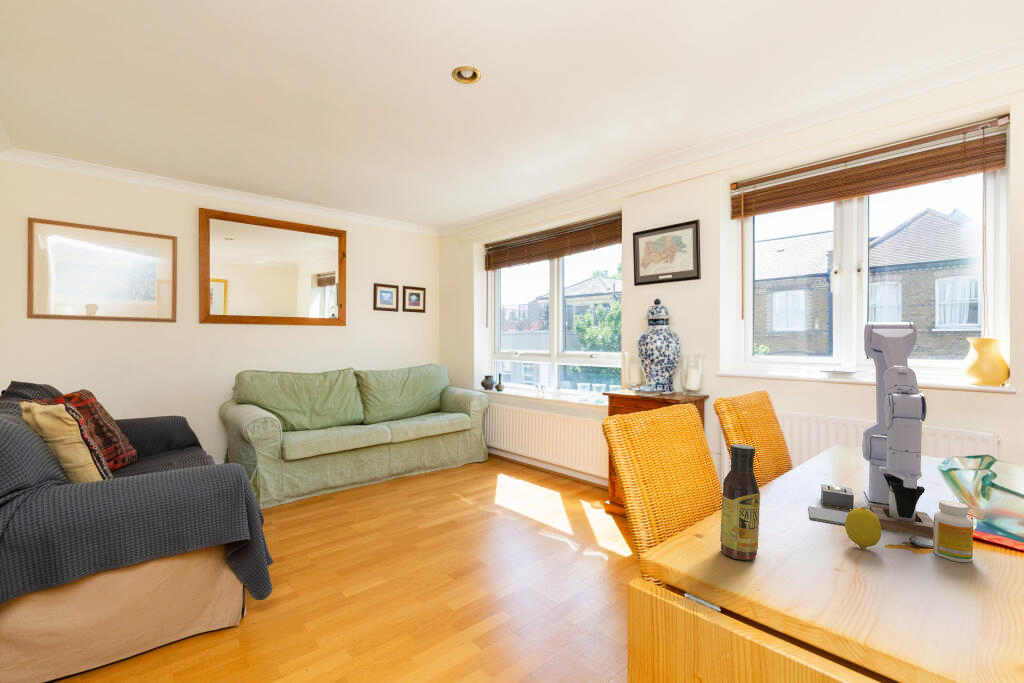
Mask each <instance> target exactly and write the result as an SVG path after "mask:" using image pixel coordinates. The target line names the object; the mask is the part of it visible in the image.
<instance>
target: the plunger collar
mask: <svg viewBox="0 0 1024 683" xmlns="http://www.w3.org/2000/svg"><path fill="white" fill-rule="evenodd" d="M820 485H821V487H820V488H821V490H820V491H821V492H820V493H821V494H820V500H821V499H822V500H821V504H823V505H825V506H824V507H829V506H832V507H831V508H835V507H839V508H838V509H842V508H845V509H844V510H848V509H851V510H853V509H855V508H854V505H855V504H854V498H855V497H854V496H855V494H854V492H853V490H852V488H851V487H843V486H841V487H842V488H844V489H845V493H844V492H837V491H830V486H832V485H830V484H820ZM823 505H822V506H823ZM851 510H850V511H851Z"/></svg>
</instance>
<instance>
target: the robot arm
mask: <svg viewBox="0 0 1024 683" xmlns="http://www.w3.org/2000/svg"><path fill="white" fill-rule="evenodd" d="M917 338H918V329H917V325H916V324H915V323H914V322H913V321H909V322H872V321H867V322H866V323H865V325H864V330H863V343H864V346H863V347H864V349H863V350H864V354H865V356H867V357H869V358H870V359H873V363H874V366H875V402H876V403H875V404H876V407H875V408H876V413H875V414H876V423H874V424H872V425H870V426H868V427H866V428H865V429H864V430H863V433H862V435H863V436H862V444H861V445H862V446H861V447H862V451H861V452H862V457H863V459H865V461H868V462H869V463H868V466H869V467H868V489H865V488H864V489H863V492H864V494H865V496H866V498H867V500H868V501H869V502H871V503H872V502H873V503H877V504H878V503H879V504H885V505H889V495H890V485H891V487H892V490H893V492H894V495H895V500H896V507H897V512H898V515H899V517H905V518H912V516H913V514H914V510H915V507H916V508H917V504H918V502H919V499H920V497H921V496H922V495H923V494H924V493H925V490H926V489H925V487H924V486H921V485H918V480H920V478H922V476H923V473H922V471H921V470H922V468H921V467H922V438H923V437H922V436H923V433H922V432H923V423H924V422H925V420H926V417H927V412H928V410H927V409H928V407H927V406H928V405H927V400H926V397H925V394H924V393H923V391H922V390H920V389H919V385H918V380H917V375H916V371H915V370H914V369H912V368H910V367H909V366H908V358H909V357H910V356H911V354H912V353H913V350H914V347H915V345H916V344H917Z"/></svg>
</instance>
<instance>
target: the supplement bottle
mask: <svg viewBox="0 0 1024 683" xmlns="http://www.w3.org/2000/svg"><path fill="white" fill-rule="evenodd" d="M938 509H939V511H936V512H934V514H933V522H934V525H933V537H932V551H933V553H934V554H935V555H937V556H939V557H940V558H944V559H947V560H949V561H952V562H953V561H954V562H958V563H970V562H972V561H973V557H974V556H973V549H974V546H973V545H974V521H973V520H972V519H971V518H970V517H969V516H968V515H969V506H968V505H966V503H961V502H958V501H954V500H939V501H938Z"/></svg>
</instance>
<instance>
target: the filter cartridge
mask: <svg viewBox="0 0 1024 683" xmlns="http://www.w3.org/2000/svg"><path fill="white" fill-rule="evenodd" d="M888 505H889V506H888V507H889V518H895V519H901V520H907V521H914V522H915V517H916V511H917V506H916V507H915V510H914V514H913V516H912V518H905V517H899V515H898V512H897V507H896V500H895V495H894V492H893V490H892V487H891V485H890V495H889V504H888Z"/></svg>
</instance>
